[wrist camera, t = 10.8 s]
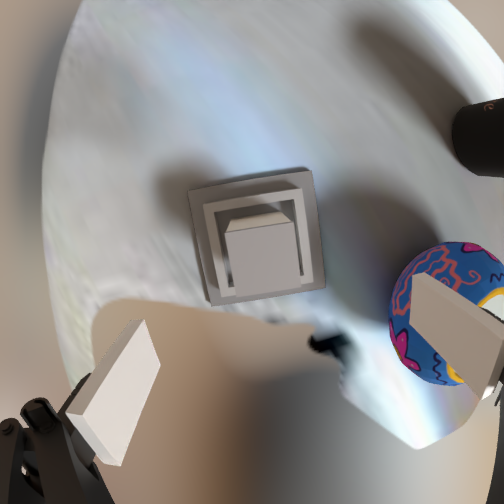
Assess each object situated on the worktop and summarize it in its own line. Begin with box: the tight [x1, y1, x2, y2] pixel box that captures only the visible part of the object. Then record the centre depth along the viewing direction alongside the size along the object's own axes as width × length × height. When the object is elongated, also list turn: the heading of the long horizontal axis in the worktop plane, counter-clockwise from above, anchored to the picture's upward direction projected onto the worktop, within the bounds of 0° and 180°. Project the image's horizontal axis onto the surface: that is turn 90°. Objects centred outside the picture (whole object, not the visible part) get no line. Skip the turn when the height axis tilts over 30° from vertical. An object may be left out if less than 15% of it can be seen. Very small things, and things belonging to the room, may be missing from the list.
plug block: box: [225, 211, 301, 297], centre depth 28 cm, size 6×6×9 cm
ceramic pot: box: [389, 242, 504, 386], centre depth 28 cm, size 18×18×15 cm
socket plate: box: [187, 170, 325, 306], centre depth 32 cm, size 14×14×3 cm
